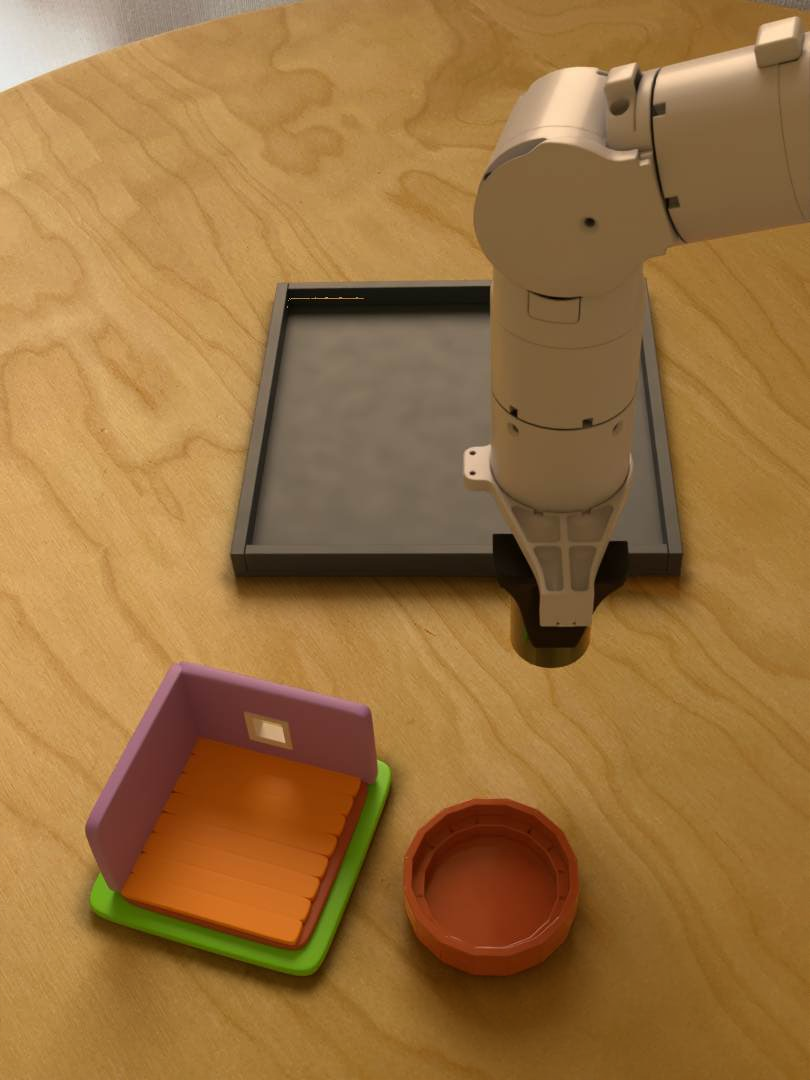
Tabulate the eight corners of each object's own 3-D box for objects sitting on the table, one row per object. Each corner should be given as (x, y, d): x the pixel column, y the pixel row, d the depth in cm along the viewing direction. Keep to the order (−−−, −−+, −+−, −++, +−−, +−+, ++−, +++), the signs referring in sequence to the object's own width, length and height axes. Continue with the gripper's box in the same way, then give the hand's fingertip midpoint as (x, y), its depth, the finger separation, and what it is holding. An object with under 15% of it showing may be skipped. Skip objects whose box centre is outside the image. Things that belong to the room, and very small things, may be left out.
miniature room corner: (186, 715, 71) (162, 635, 66) (399, 769, 68) (392, 689, 63) (81, 915, 64) (46, 841, 58) (317, 985, 61) (301, 914, 56)
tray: (644, 299, 93) (646, 276, 92) (680, 576, 76) (683, 553, 75) (280, 304, 95) (277, 282, 94) (234, 576, 78) (229, 554, 76)
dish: (572, 825, 66) (574, 798, 64) (579, 982, 60) (582, 957, 58) (409, 823, 66) (406, 796, 64) (402, 978, 61) (399, 954, 59)
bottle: (587, 606, 65) (598, 475, 59) (592, 668, 63) (603, 539, 56) (509, 606, 65) (511, 476, 59) (511, 669, 63) (513, 539, 56)
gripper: (461, 272, 57) (466, 493, 67) (460, 516, 48) (465, 733, 58) (627, 268, 57) (607, 492, 67) (659, 514, 47) (630, 733, 57)
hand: (552, 604), depth 62 cm, fingers closed on bottle, 4 cm apart
